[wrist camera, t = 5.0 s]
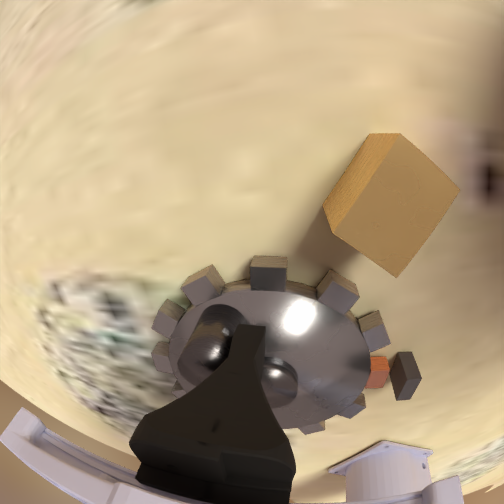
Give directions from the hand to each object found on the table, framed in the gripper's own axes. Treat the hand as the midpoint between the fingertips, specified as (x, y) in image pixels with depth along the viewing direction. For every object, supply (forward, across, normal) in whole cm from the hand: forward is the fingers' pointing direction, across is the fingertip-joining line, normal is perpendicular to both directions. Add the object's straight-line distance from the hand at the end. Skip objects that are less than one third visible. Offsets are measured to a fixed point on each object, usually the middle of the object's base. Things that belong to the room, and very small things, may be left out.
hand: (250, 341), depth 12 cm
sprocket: (+3, -1, +4) cm, 5 cm away
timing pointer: (+3, -9, +4) cm, 11 cm away
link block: (+3, -5, -6) cm, 9 cm away
